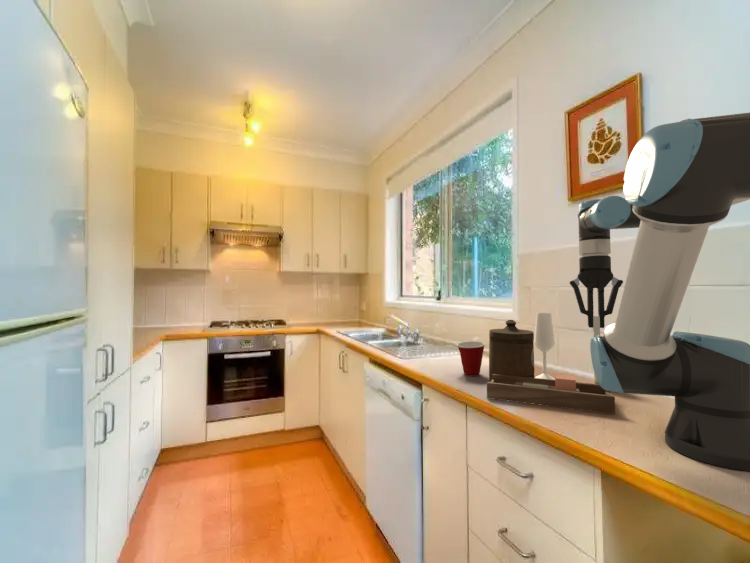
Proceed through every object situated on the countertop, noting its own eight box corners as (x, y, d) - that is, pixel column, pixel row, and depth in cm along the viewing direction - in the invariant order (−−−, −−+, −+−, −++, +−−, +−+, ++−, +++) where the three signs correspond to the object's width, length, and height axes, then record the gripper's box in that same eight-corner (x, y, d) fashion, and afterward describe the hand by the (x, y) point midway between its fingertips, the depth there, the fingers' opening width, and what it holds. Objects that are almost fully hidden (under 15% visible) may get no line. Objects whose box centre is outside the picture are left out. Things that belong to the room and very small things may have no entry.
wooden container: (544, 386, 115) (543, 320, 116) (507, 390, 111) (505, 322, 112) (515, 375, 130) (514, 317, 130) (480, 379, 125) (479, 318, 126)
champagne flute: (550, 376, 128) (549, 312, 129) (558, 381, 122) (557, 313, 122) (532, 376, 129) (530, 312, 130) (538, 380, 122) (537, 313, 123)
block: (575, 394, 96) (575, 380, 96) (555, 392, 98) (555, 378, 99) (574, 389, 101) (574, 376, 101) (555, 387, 103) (555, 374, 103)
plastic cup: (451, 372, 135) (450, 342, 135) (472, 369, 140) (472, 340, 140) (469, 379, 125) (469, 346, 126) (492, 375, 130) (491, 343, 130)
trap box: (615, 414, 89) (614, 396, 89) (486, 397, 103) (486, 382, 103) (607, 400, 100) (607, 385, 100) (492, 387, 114) (492, 373, 114)
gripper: (620, 255, 97) (621, 339, 97) (567, 258, 103) (569, 336, 103) (625, 253, 91) (627, 342, 90) (569, 255, 97) (570, 339, 96)
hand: (596, 339), depth 97 cm, fingers closed
